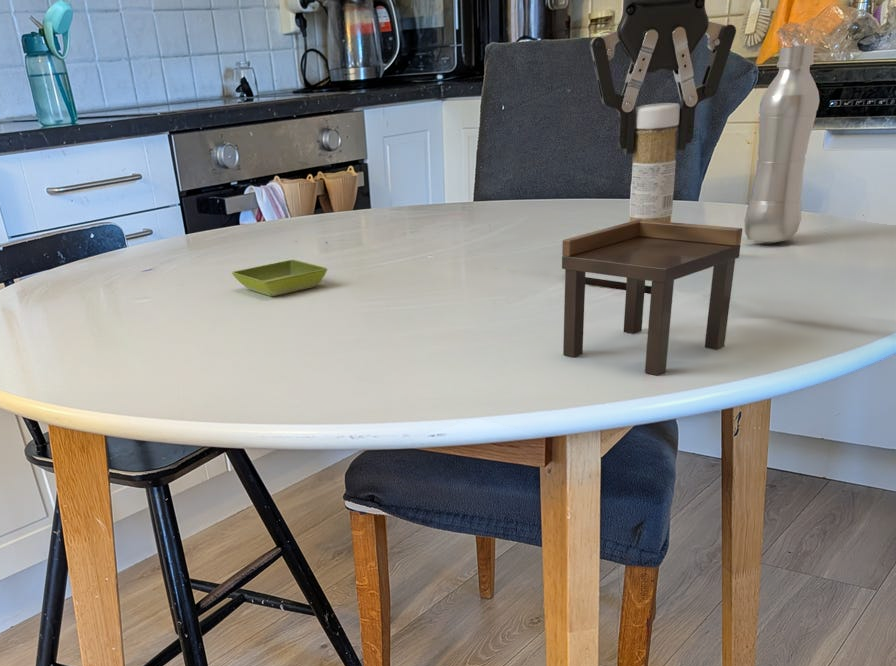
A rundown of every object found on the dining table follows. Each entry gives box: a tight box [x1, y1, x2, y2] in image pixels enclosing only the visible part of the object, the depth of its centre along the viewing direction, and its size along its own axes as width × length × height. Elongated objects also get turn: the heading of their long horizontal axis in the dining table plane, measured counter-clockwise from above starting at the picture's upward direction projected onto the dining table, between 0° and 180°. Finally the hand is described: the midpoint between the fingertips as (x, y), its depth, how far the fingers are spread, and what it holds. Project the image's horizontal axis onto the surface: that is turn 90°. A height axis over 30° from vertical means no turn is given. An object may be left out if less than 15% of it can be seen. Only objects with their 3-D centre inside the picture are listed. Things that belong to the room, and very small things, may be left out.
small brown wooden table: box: [561, 220, 743, 376], centre depth 72 cm, size 10×10×9 cm
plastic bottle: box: [744, 44, 820, 245], centre depth 101 cm, size 6×7×20 cm
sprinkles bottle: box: [629, 102, 681, 222], centre depth 91 cm, size 5×5×14 cm
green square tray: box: [231, 259, 328, 297], centre depth 104 cm, size 9×9×2 cm
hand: (654, 151), depth 89 cm, fingers closed on sprinkles bottle, 4 cm apart
